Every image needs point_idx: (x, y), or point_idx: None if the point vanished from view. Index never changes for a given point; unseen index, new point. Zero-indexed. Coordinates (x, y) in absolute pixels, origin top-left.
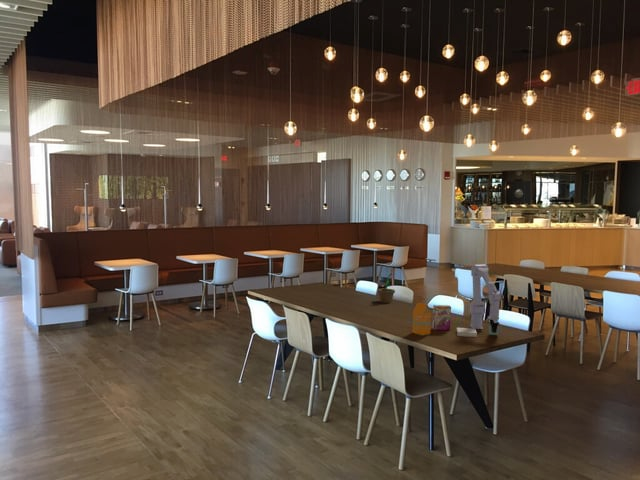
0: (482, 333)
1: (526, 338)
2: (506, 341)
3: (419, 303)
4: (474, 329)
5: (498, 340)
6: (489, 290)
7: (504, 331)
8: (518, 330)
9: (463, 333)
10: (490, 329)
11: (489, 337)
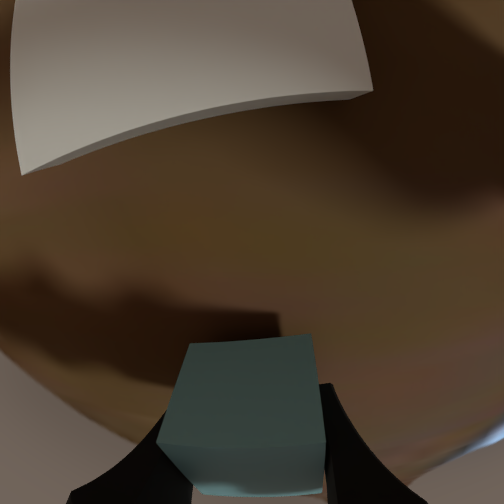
0: (324, 223)
1: None
2: (100, 416)
3: None
4: (286, 68)
5: (81, 377)
6: None
7: (450, 407)
8: (463, 444)
9: (26, 4)
10: (172, 403)
11: (127, 318)
